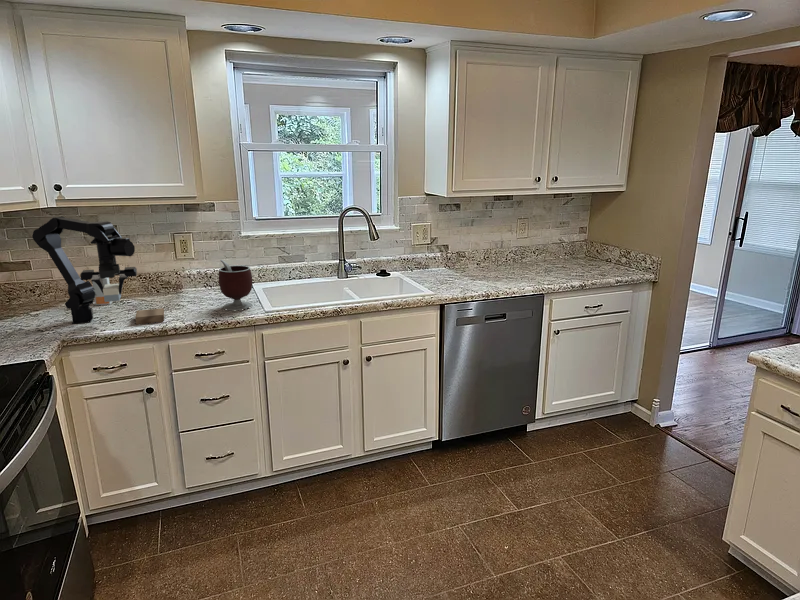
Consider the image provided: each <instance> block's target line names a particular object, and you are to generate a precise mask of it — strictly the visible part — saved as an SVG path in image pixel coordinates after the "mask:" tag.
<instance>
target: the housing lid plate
mask: <svg viewBox="0 0 800 600" xmlns="http://www.w3.org/2000/svg"><path fill="white" fill-rule="evenodd" d="M103 294H104V296H106V295H117V294H119V283H110V284H106V285H105V286H104V288H103Z"/></svg>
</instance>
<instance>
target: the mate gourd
mask: <svg viewBox="0 0 800 600" xmlns="http://www.w3.org/2000/svg"><path fill="white" fill-rule="evenodd" d="M220 262H221V263H222V264H223V267H220V268H218V287H219V289H220V292H221V293H222V294H223V296H224V297H225V298H228V299H232V300H233V301H232V302H228V303H225V304H223V306H222V309H223V308H224V309H227V310H226V311H228V310H241V311H243V310H242V309H246V310H248V309H247V308H249V307H251V306H252V307H253V303H252V302H249V301H242V300H241V299H243V298H245V297H247V296H249V294H250V293H251V292H252V290H253V274H252V270H251V267H250V266H249V265H248V266H247V265H230V264H229V263H228V262H227V261H225V260H223V259H220ZM252 307H251V308H252ZM224 309H223V310H224ZM249 309H250V308H249Z"/></svg>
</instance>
